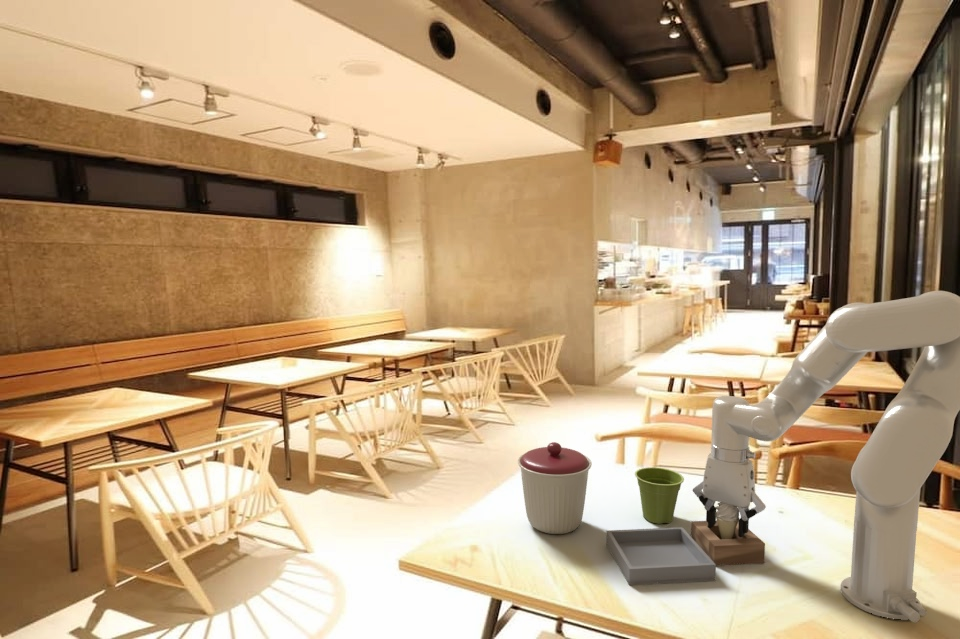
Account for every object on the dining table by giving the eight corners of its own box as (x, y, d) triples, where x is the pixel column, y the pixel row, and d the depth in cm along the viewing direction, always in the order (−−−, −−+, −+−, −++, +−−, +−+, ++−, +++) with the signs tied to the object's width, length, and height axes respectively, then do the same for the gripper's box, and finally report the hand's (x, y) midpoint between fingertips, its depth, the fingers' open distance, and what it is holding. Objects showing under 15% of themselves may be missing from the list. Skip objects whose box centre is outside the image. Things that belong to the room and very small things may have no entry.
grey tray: (715, 580, 113) (715, 564, 113) (629, 585, 112) (629, 569, 112) (682, 541, 129) (682, 527, 129) (606, 545, 128) (606, 530, 128)
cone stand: (764, 563, 120) (764, 543, 119) (713, 565, 119) (714, 545, 118) (736, 537, 131) (737, 519, 130) (690, 539, 130) (691, 521, 129)
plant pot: (686, 531, 134) (687, 486, 133) (635, 527, 136) (636, 483, 135) (679, 509, 146) (680, 468, 144) (632, 506, 148) (633, 465, 147)
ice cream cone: (733, 545, 127) (735, 482, 125) (741, 557, 122) (744, 492, 120) (710, 544, 128) (712, 482, 126) (718, 556, 123) (720, 491, 121)
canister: (598, 542, 129) (599, 455, 127) (521, 543, 129) (520, 456, 127) (583, 507, 147) (583, 431, 145) (515, 508, 147) (515, 432, 145)
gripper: (776, 456, 119) (773, 536, 121) (696, 440, 131) (694, 513, 133) (767, 466, 114) (763, 549, 116) (684, 448, 125) (682, 524, 127)
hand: (726, 529), depth 124 cm, fingers open, 5 cm apart
